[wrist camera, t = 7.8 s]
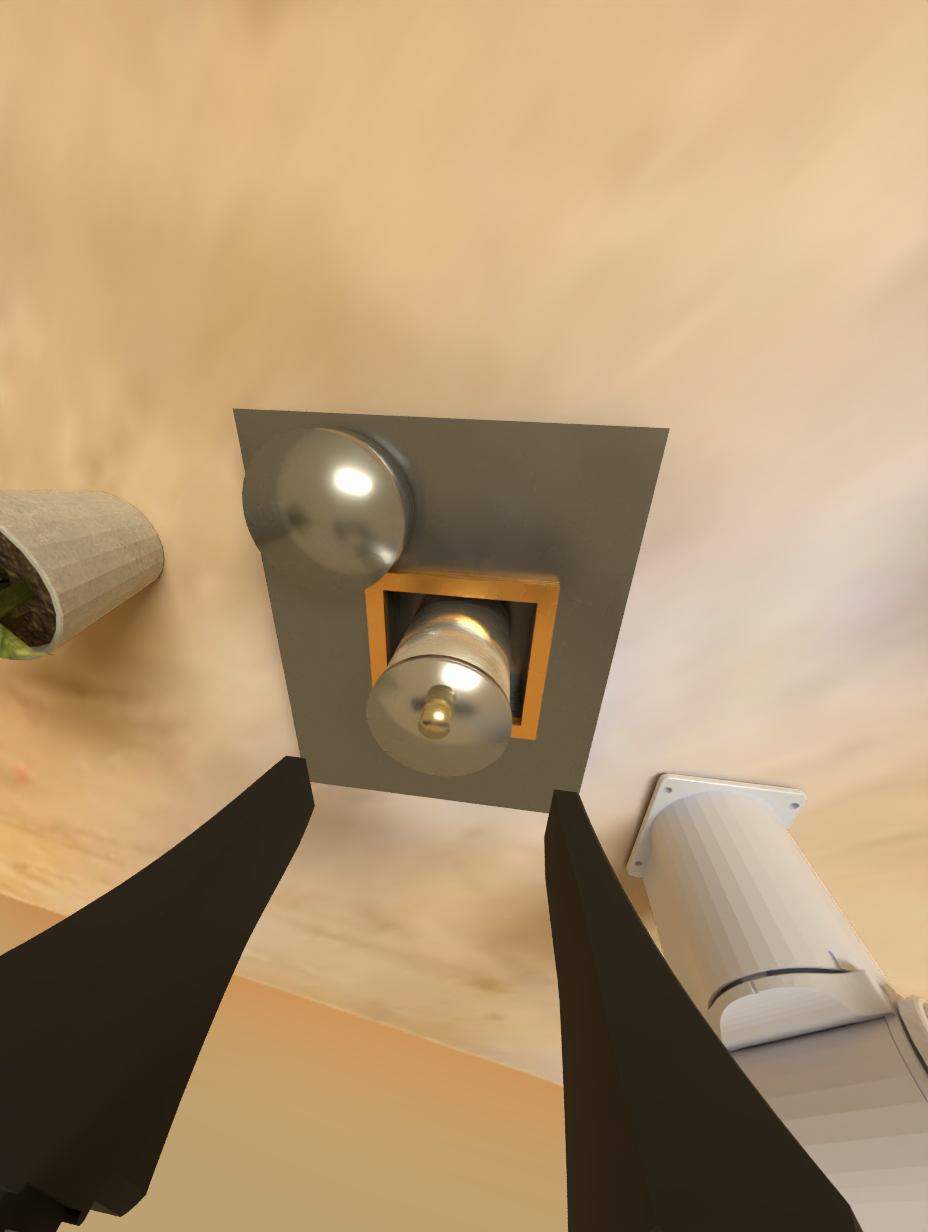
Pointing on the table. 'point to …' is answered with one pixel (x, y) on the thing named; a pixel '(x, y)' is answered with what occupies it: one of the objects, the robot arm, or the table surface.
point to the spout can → (447, 688)
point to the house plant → (67, 565)
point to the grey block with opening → (446, 574)
